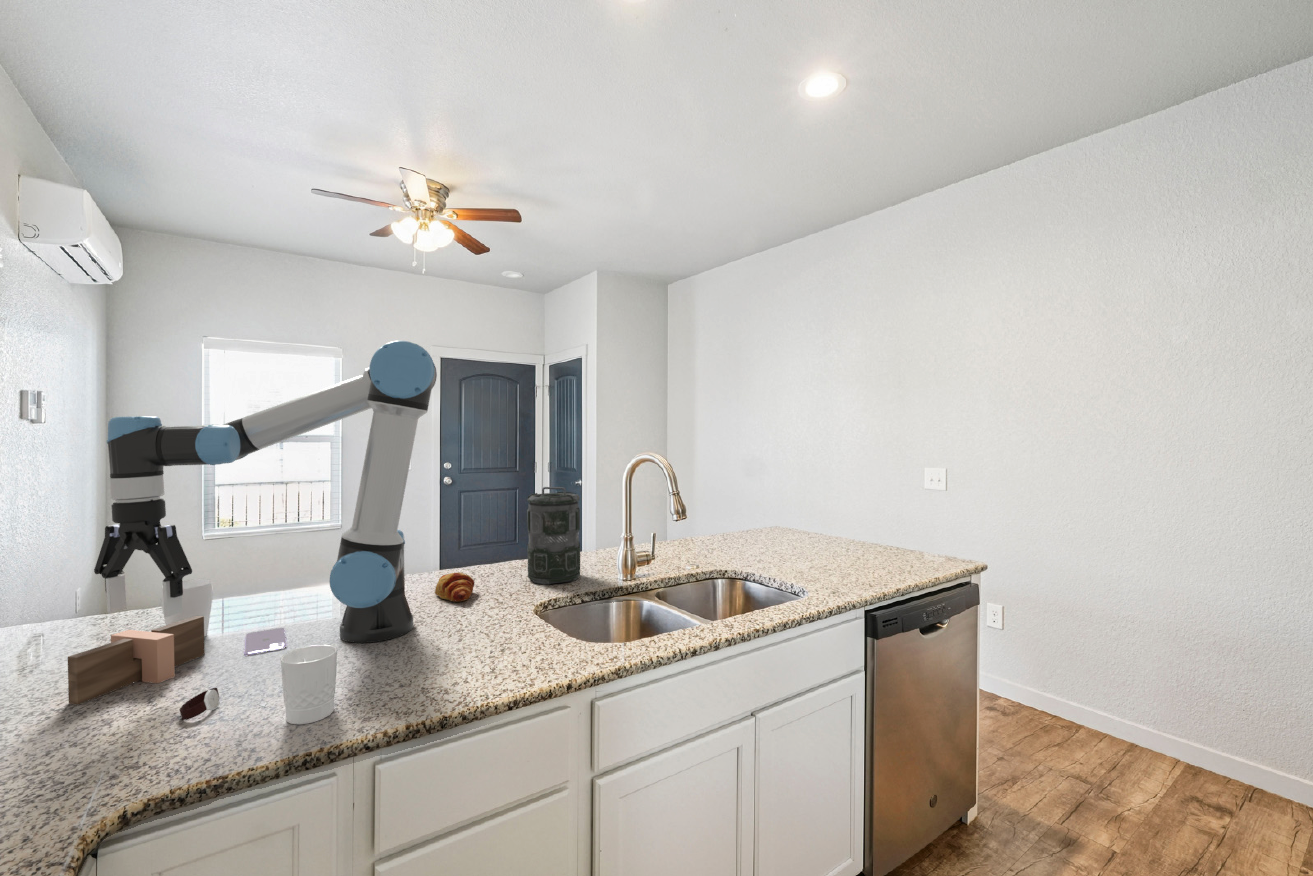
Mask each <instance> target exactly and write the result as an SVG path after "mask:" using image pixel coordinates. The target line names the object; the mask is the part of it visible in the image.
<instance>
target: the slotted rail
mask: <svg viewBox="0 0 1313 876" xmlns="http://www.w3.org/2000/svg"><path fill="white" fill-rule="evenodd" d="M150 632H156V633H166V634H174V668H175V667H178V666H181V665H183V664H186V663H188V662H191V661H193V659H194V660H196V659H198V658H200V657H203V655H204V656H206V654H205V637H204V616H193V617H190V618H187V619H184V620H181V621H178V622H175V623H172V624H168V625H166V624H165V625H162V626H160V627H157V628H156V627H155V628H154V629H153V628H152V629H151V630H150ZM139 681H142V659H139V658H133V639H122V640H118V641H115V642H112V643H111V642H108V643H106V644H104V645H100V646H97V647H94V648H91V649H87V650H84V651H81V652H78V653H75V654H72V655H69V656H67V682H68V683H67V684H68V685H67V688H68V690H67V691H68V704H69V705H75V706H76V705H77V706H79V705H81V704H84V703H86V702H89V701H92V700H94V699H96V698H99V697H102V696H104V695H106V694H109V693H112V692H114V691H117V690H119V689H122V688H124V687H127V686H129V685H132V684H134V683H133V682H135V683H137V682H139ZM111 691H112V692H111ZM88 700H89V701H88Z"/></svg>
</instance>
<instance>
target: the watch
mask: <svg viewBox="0 0 1313 876" xmlns="http://www.w3.org/2000/svg"><path fill="white" fill-rule="evenodd" d="M219 704H220V693H219V689H218V687H212V688H207V689H206V690H205V691H202V692H200V693H199V694H196V695H195V696H194V697H192V698H190V699H189V700H187V701H185V703H183V705H181V707H180V708H179V713H180V716H181V718H182V720H183V721H184V720H185V721H186V720H190V719H193V718H195V717H197V716H199V715H201V714H203V713H204V712H206V711H214V710H215V709H217V708H218V707H219Z"/></svg>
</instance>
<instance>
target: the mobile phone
mask: <svg viewBox="0 0 1313 876" xmlns="http://www.w3.org/2000/svg"><path fill="white" fill-rule="evenodd" d="M284 629H285V628H284V627H278V628H271V629H263V630H259V631H253V632H248V633H246V634H245V636H246V638H245V637H244V647H245V649H244V648H243V656H244V655H251V656H254V655H253V654H257V653H261V652H266V651H270V650H279V649H282V648H284V647H286V646H287V647H288V642H287V643H286V641H287V636H286V635H287V634H286V635H285V633H284V632H286V629H285V630H284ZM285 636H286V638H285ZM244 650H245V651H244ZM279 651H280V650H279ZM257 655H258V654H257Z"/></svg>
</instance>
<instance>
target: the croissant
mask: <svg viewBox="0 0 1313 876" xmlns="http://www.w3.org/2000/svg"><path fill="white" fill-rule="evenodd" d="M435 585H436V586H435V587H434V588H435V589H434V595H436V596H438V597H439V598H440V599H442V600H445V601H446V600H448V601H450V602H455V603H460V602H461V603H462V602H464V601H466V600H469V599H470V597H471V596H472V594H473V592H474V586H475V580H474V578H472V577H471V575H469V574H465V573H462V572H452V573H446V574H444V575H442V576H440V577H439V579H438V581H437V583H436V584H435Z"/></svg>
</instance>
